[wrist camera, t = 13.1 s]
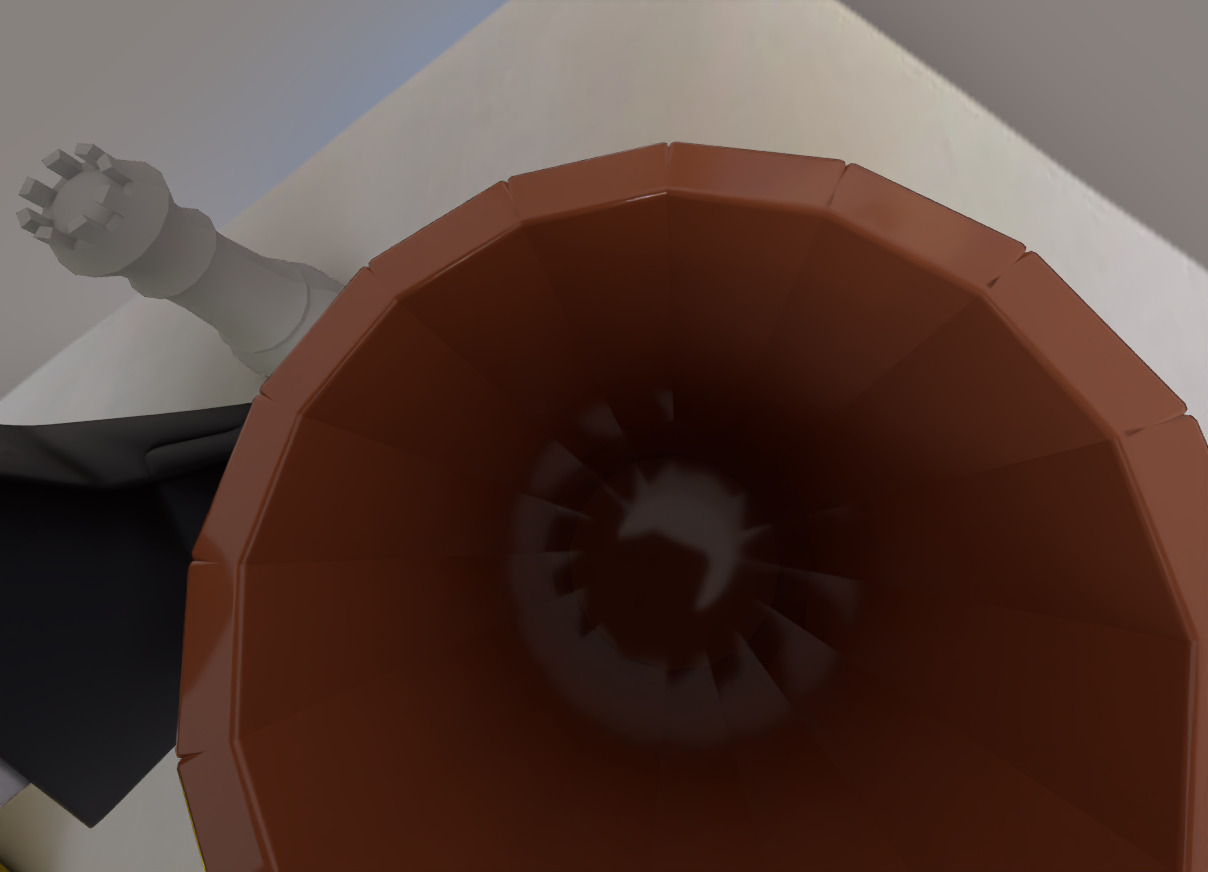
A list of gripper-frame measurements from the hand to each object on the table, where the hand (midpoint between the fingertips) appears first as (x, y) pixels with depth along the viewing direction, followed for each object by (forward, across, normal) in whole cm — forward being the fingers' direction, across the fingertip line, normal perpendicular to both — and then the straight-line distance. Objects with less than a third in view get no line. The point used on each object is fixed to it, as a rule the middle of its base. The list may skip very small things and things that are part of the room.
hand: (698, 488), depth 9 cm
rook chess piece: (+6, +16, +5) cm, 17 cm away
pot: (+4, 0, +6) cm, 7 cm away
